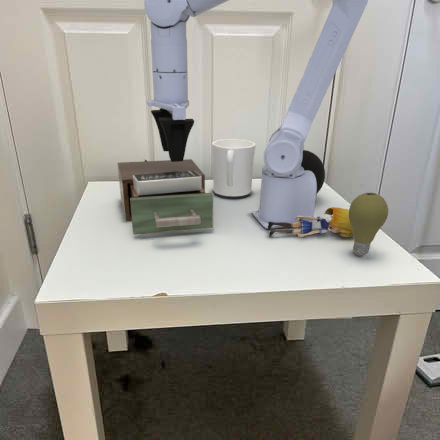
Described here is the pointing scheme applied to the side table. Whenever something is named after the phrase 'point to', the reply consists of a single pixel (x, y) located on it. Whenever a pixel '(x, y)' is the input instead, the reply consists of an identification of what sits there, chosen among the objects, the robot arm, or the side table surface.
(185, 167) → the cabinet
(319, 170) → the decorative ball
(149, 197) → the drawer
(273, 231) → the figurine
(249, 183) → the mug
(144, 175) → the multiport hub
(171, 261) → the side table surface
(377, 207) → the light bulb
